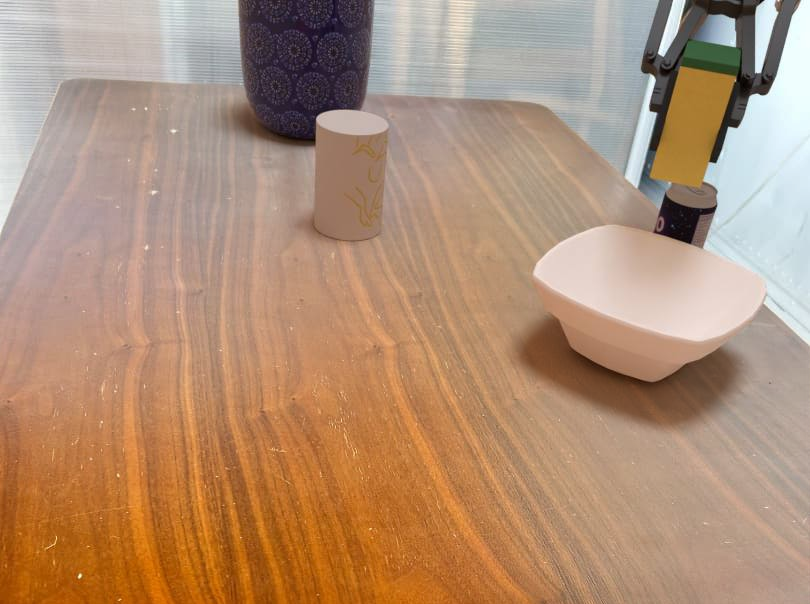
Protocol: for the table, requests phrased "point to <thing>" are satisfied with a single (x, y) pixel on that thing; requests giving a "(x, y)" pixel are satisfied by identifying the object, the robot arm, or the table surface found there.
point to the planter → (304, 59)
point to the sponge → (695, 112)
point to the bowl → (644, 299)
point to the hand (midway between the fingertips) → (685, 149)
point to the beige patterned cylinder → (349, 174)
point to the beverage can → (687, 213)
